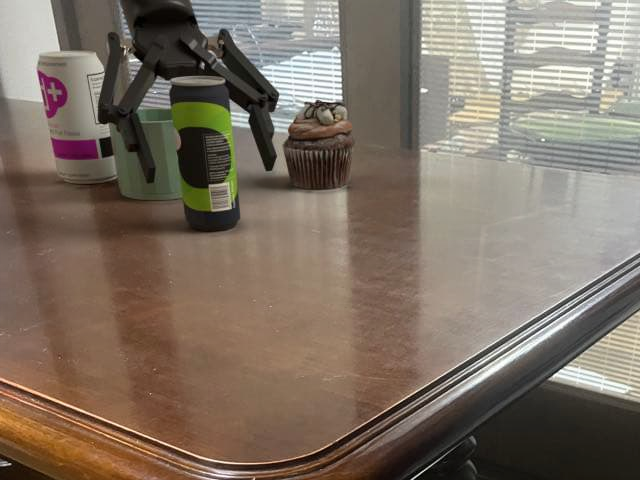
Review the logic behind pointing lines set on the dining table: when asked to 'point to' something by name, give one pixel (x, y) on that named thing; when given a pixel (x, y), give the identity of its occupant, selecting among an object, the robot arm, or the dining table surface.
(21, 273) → the dining table surface
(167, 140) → the green faceted cup
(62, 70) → the supplement can
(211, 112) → the beverage can
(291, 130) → the cupcake
